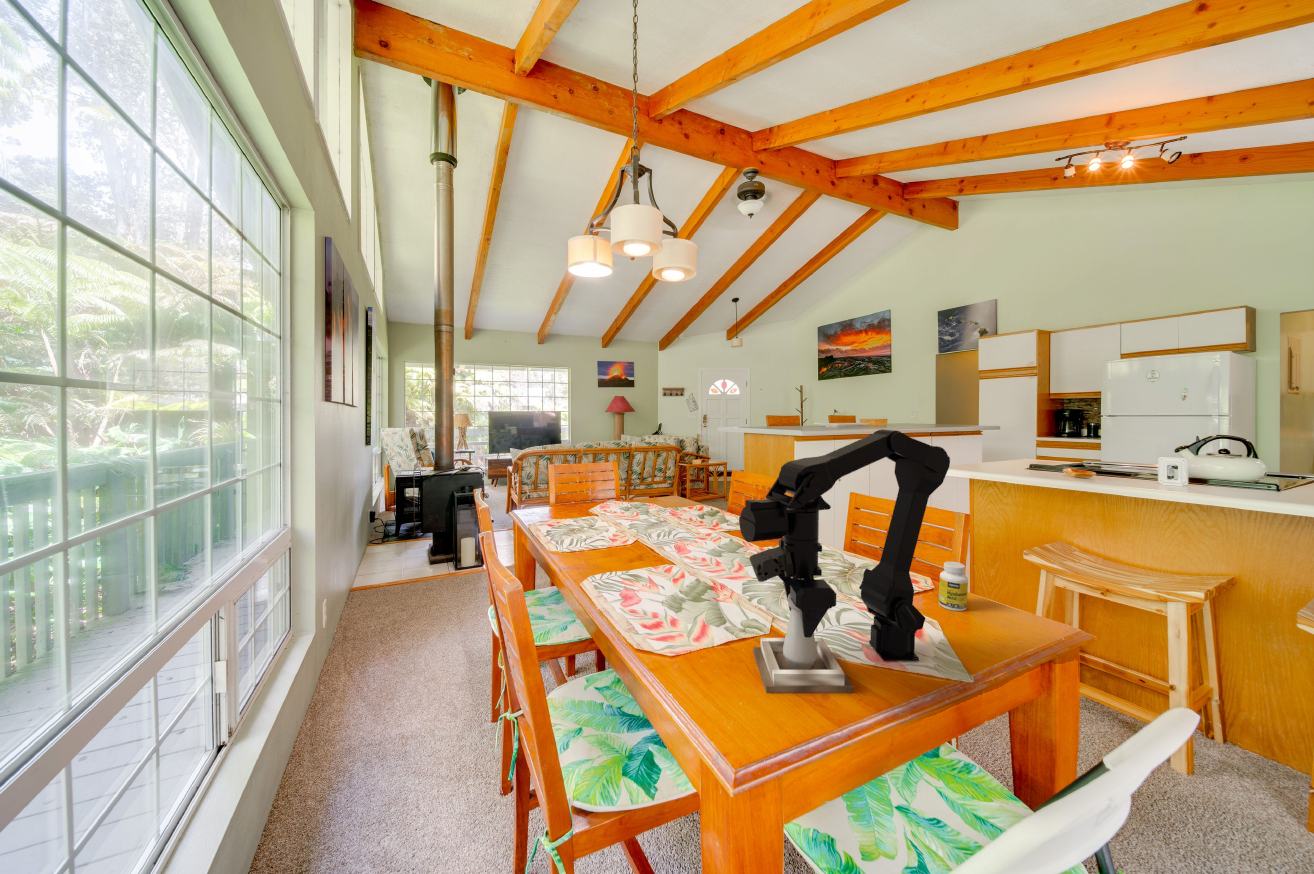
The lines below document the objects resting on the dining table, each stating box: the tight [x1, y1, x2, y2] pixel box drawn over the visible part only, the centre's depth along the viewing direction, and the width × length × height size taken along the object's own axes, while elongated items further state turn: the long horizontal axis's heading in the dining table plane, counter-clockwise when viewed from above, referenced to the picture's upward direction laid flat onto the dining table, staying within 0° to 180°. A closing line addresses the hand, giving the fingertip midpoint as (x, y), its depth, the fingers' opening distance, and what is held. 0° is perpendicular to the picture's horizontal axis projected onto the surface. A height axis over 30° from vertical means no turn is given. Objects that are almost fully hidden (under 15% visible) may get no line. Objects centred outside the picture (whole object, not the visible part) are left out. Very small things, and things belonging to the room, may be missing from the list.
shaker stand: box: [752, 637, 854, 694], centre depth 82 cm, size 14×12×3 cm
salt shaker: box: [783, 593, 817, 670], centre depth 82 cm, size 6×6×13 cm
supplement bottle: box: [938, 561, 969, 612], centre depth 106 cm, size 5×5×10 cm
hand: (799, 623), depth 82 cm, fingers open, 9 cm apart
